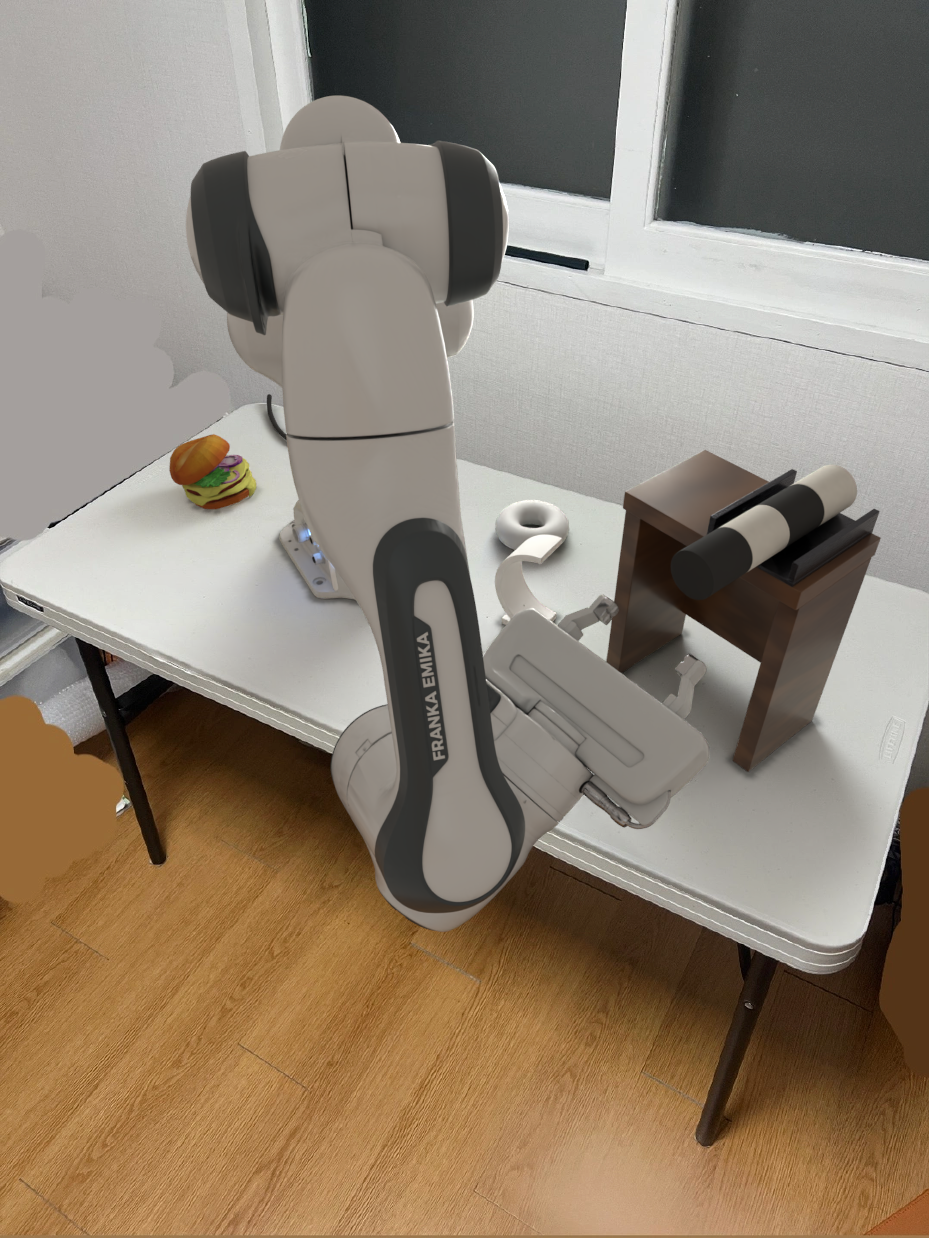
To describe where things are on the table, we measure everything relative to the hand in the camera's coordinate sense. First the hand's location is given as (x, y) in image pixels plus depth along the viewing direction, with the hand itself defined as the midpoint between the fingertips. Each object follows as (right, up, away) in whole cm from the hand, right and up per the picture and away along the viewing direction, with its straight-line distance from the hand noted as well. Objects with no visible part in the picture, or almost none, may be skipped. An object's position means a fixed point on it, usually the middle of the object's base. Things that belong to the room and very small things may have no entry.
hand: (653, 629), depth 73 cm
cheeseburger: (-51, +19, +57) cm, 79 cm away
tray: (+14, +8, +7) cm, 18 cm away
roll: (+11, +7, +5) cm, 14 cm away
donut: (-6, +12, +48) cm, 50 cm away
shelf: (+11, -7, +26) cm, 29 cm away
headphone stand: (-8, +1, +36) cm, 37 cm away
